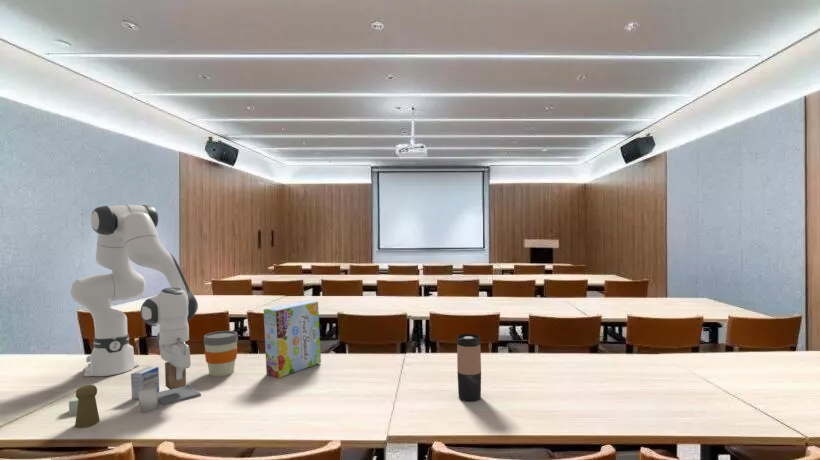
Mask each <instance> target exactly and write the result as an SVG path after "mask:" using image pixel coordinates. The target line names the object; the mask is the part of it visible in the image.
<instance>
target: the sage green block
mask: <svg viewBox="0 0 820 460" xmlns="http://www.w3.org/2000/svg"><path fill="white" fill-rule="evenodd" d="M77 406H78V398H77V397H76V396H73V397H71V399H70V400H69V401H68V413H69V415H73V414H77Z"/></svg>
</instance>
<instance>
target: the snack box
mask: <svg viewBox="0 0 820 460" xmlns="http://www.w3.org/2000/svg"><path fill="white" fill-rule="evenodd" d="M319 316H320V315H319V302H318V301H311V300H302V301H297V302H292V303H287V304H281V305H278V306H273V307H269V308H268V307H267V308H264V309H263V324H264V347H265V369H266V371H265V372H266V375H268V376H271V377H276V378H279V379H280V378H283V377H284V376H288V375H291V374H293V373H296V372H299V371H302V370H304V369H307V368H311V367H312V366H316V365H318V364H321V363H322V358H321V356H322V355H321V337H320V335H321V334H320V317H319Z"/></svg>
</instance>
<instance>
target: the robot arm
mask: <svg viewBox="0 0 820 460" xmlns="http://www.w3.org/2000/svg"><path fill="white" fill-rule="evenodd" d="M158 215H159V214H158V211H157V210H156V209H155V207H154V206H150V205H147V204H141V205H139V204H121V205H120V204H119V205H118V204H117V205H109V206H108V205H103V206H98V207H95V208H94V209H93V210H92V212H91V216H90V224H91V227H92V229H93V231H94V232H96V234H97V239H96V240H97V241H96V252H95V259H96V263H97V264H98V265H100V266H101V267H102V268H105V269H109V270H111V272H110V273H108V274H98V275H97V274H96V275H88V276H84V277H83V276H82V277H80V278H77V279H75V281H73V283H72V285H71V288H70V295H71V298H72V299H73V300H74V301H75V303H78V304H79V305H81V306H83V307H84V308H85V309H86V310H88V312H89V313H90V315H91V317H92V319H93V326H94V338H93V341H92V342H93V343H92V344H93V350H92V351H91V354H90V355H88V356H86V363H87V365H85V368H84V374H83V377H107V376H115V375H118V374H123V373H126V372H129V371H131V370H132V369H134V368H136V367H139V366H140V363H139V362H136V361H135V352H134V346H133V345H131V344H130V334H129V333H128V317H127V314H126V313H124V312H123V311H121V310H119V309H116V308H112V306H111V304H110V303H111V302H119V301H126V300H130V299H135V298H138V297H140V296H142V295H143V294H144V293H145V291H146V289H147V282H146V279H145V277H144V276H143V275H142V274H141V273H139V272H137V271H136V270H135V269H134V268H133V266H132V264H131V262H132V263H133V264H135V265H137V266H139V267H142V268H148V269H151V270H154V271H158V272H159V273H161V274H163V276H165V277H166V280H167V283H168V284H169V286H170V287H165V288H163V289H161V290H160V291H159V293H158V294H157V295H155V296H153V297H150V298H147V299H145V301H144V302H143V303H142V305H141V307H140V316H141V319H142V321H143V322H144V323H145V324H147V325H149V326H159V331H158V332H157V336H156V338H157V340H159V341H158V346H159V354H160V358H161V359H162V360H163V361H165V363H166V362H168V363H170V364H171V365H173V366H174V367H176V374H175V378H176V379H177V380H179V379H182V373H183V369H186V370H187V369H188V368H190V367H191V352H190V351H191V350H190V346H189V345H188V344H187V343H186V342H188V341H189V340H190V332H189V331H190V327H189V325H190V324H189V322H188V321H190V320H191V319H192V318H193V317H194V316H195V315H196V313H197V312H198V309H199V304H198V300H197V298H196V296H195V295H194V294H193V292H192V291H191V289H190V287H189V285H188V282H187V281H186V278H185V277H184V273H183V272H182V270H181V268H180V265H179V263H178V261H177V260H176V258H175V256H174V255H173V254H172V253H170V252H169V251H168V250H167V249H166V248H165V247H164V246H163V244H162V242H161V239H160V237H159V233H158V230H157V227H158V223H159V216H158Z"/></svg>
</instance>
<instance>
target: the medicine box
mask: <svg viewBox="0 0 820 460" xmlns="http://www.w3.org/2000/svg"><path fill="white" fill-rule="evenodd" d="M159 369H160V367H158V366H147V367H143V368H142V369H139V370H137V371H135V372H131V374H130V385H131V399H135V400H136V399H137V400H139V391H140V390H143V389H146V388H157V392H160V374H159V373H160V371H159Z"/></svg>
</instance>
